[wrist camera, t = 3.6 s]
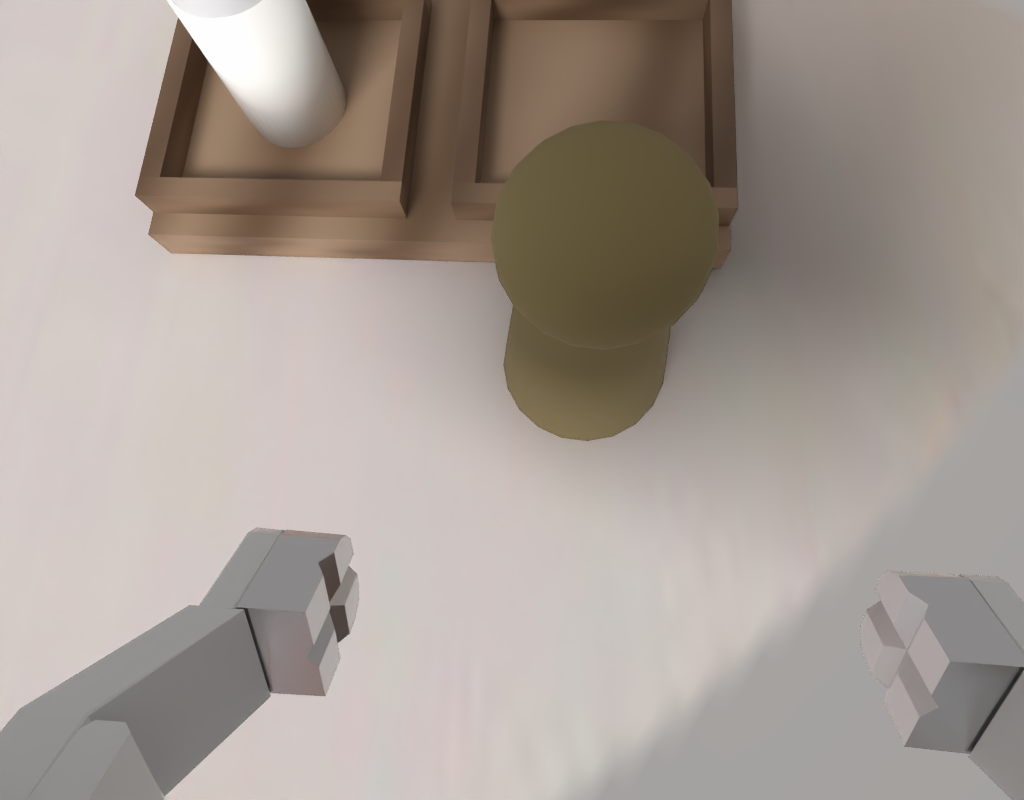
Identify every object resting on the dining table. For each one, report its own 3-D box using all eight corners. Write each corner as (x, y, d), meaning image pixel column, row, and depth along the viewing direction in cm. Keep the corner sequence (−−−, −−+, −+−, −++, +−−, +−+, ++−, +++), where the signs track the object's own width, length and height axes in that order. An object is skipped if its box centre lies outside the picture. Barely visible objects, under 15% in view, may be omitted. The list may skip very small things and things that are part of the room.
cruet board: (171, 252, 26) (128, 217, 23) (223, 17, 29) (190, -38, 26) (720, 268, 24) (740, 232, 22) (714, 16, 27) (731, -42, 25)
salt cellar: (242, 147, 25) (112, -29, 18) (258, 64, 26) (142, -135, 19) (339, 148, 25) (248, -30, 17) (352, 64, 26) (271, -138, 18)
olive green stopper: (561, 260, 25) (569, 30, 14) (695, 340, 23) (814, 156, 13) (471, 382, 24) (406, 233, 13) (607, 473, 22) (657, 390, 12)
